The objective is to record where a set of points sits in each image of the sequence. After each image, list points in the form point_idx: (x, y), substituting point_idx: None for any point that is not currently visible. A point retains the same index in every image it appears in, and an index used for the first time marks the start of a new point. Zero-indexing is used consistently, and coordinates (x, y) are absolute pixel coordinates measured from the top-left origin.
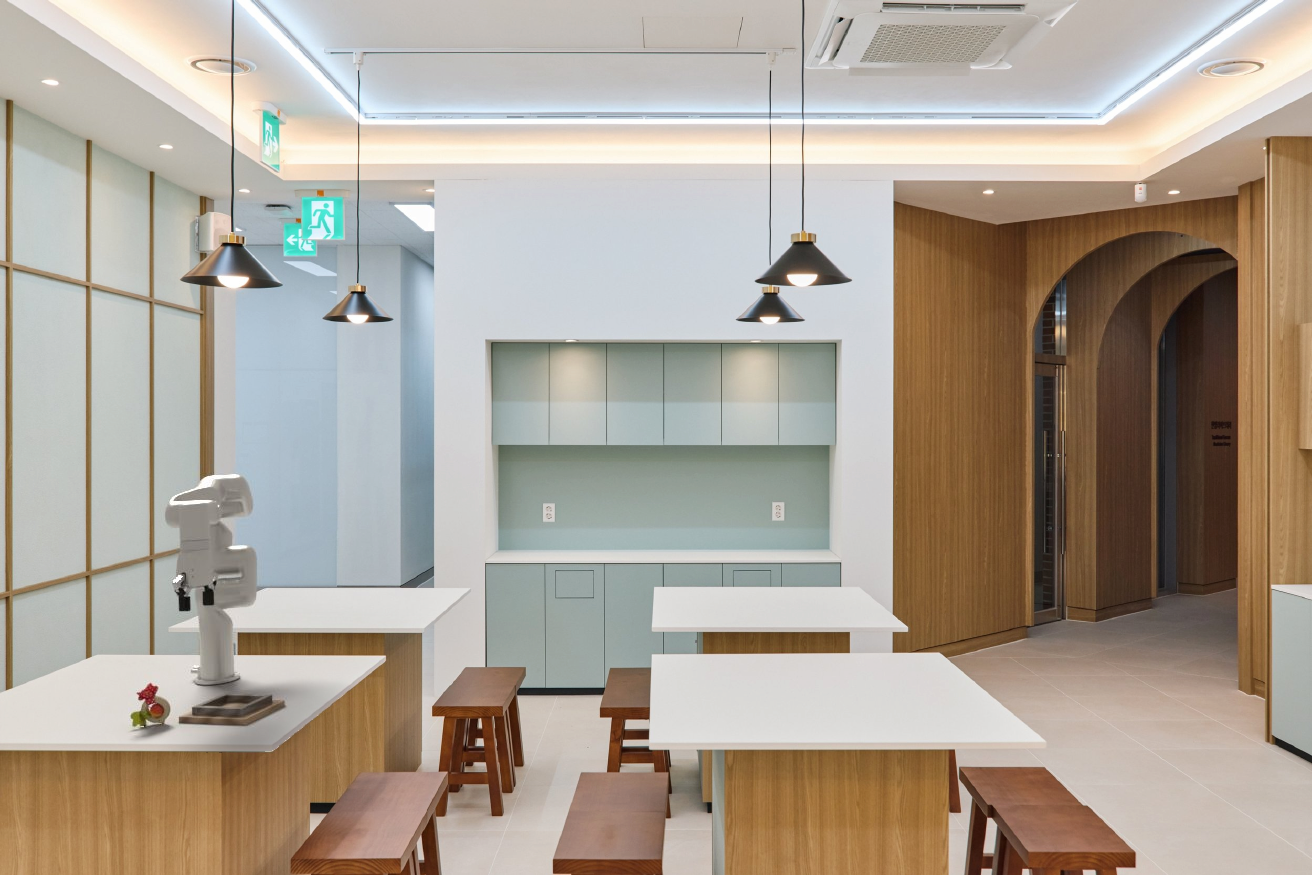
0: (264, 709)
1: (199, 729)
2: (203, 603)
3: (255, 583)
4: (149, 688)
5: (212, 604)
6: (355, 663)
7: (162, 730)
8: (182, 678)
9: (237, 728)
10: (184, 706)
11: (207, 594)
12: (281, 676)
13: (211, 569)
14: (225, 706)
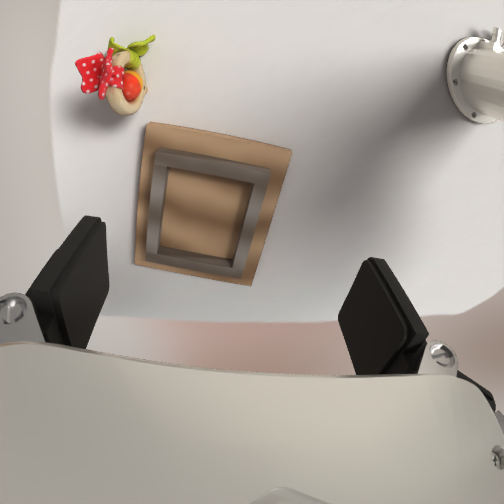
0: (192, 273)
1: (109, 191)
2: (367, 269)
3: None
4: (101, 74)
5: (342, 318)
6: (479, 293)
7: (100, 120)
8: (497, 9)
9: (120, 253)
10: (277, 68)
11: (373, 351)
12: (463, 203)
13: None
14: (218, 191)
